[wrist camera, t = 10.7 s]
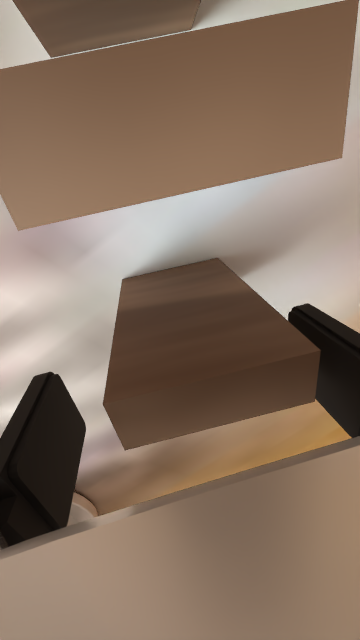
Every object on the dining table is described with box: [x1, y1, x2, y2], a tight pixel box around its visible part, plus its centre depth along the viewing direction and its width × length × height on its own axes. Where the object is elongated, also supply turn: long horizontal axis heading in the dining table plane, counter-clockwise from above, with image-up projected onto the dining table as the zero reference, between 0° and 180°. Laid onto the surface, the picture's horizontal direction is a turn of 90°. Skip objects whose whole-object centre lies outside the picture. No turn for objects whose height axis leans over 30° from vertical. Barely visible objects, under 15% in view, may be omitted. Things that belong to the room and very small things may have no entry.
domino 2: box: [103, 258, 321, 450], centre depth 12 cm, size 2×6×10 cm, turn 100°
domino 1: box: [0, 0, 359, 231], centre depth 8 cm, size 2×6×10 cm, turn 101°
